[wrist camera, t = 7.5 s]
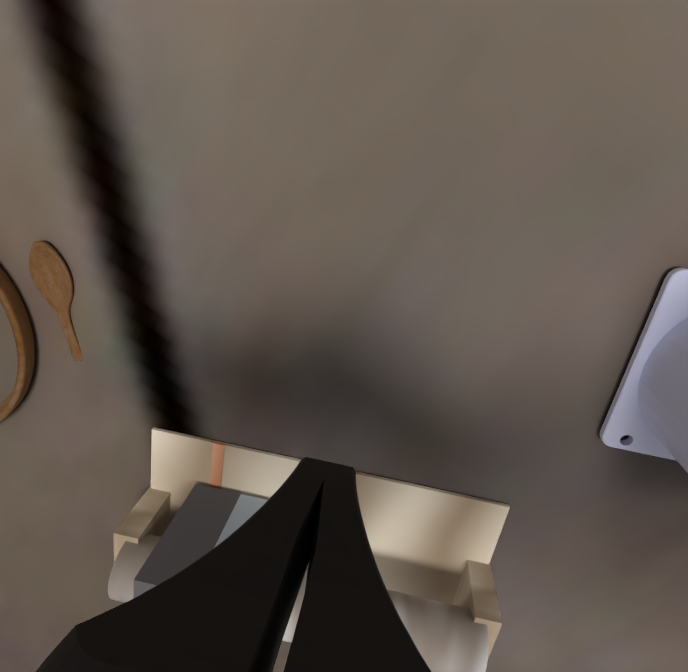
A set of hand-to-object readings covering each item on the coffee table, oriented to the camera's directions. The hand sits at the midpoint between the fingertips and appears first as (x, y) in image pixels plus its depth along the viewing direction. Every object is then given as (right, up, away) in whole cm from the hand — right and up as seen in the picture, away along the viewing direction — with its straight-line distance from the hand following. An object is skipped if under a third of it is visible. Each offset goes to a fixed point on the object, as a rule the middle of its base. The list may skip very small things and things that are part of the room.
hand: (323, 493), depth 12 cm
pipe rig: (-1, -7, +14) cm, 16 cm away
